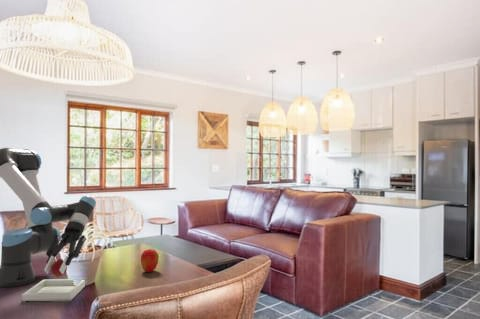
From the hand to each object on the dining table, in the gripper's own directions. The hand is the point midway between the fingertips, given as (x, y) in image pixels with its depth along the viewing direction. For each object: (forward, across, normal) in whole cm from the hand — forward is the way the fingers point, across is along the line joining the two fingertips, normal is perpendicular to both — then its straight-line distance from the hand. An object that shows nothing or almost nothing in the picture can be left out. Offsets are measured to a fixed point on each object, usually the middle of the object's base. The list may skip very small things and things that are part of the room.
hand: (53, 271), depth 135 cm
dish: (+4, +1, -10) cm, 11 cm away
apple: (-20, -27, -35) cm, 48 cm away
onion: (0, 0, -5) cm, 5 cm away
